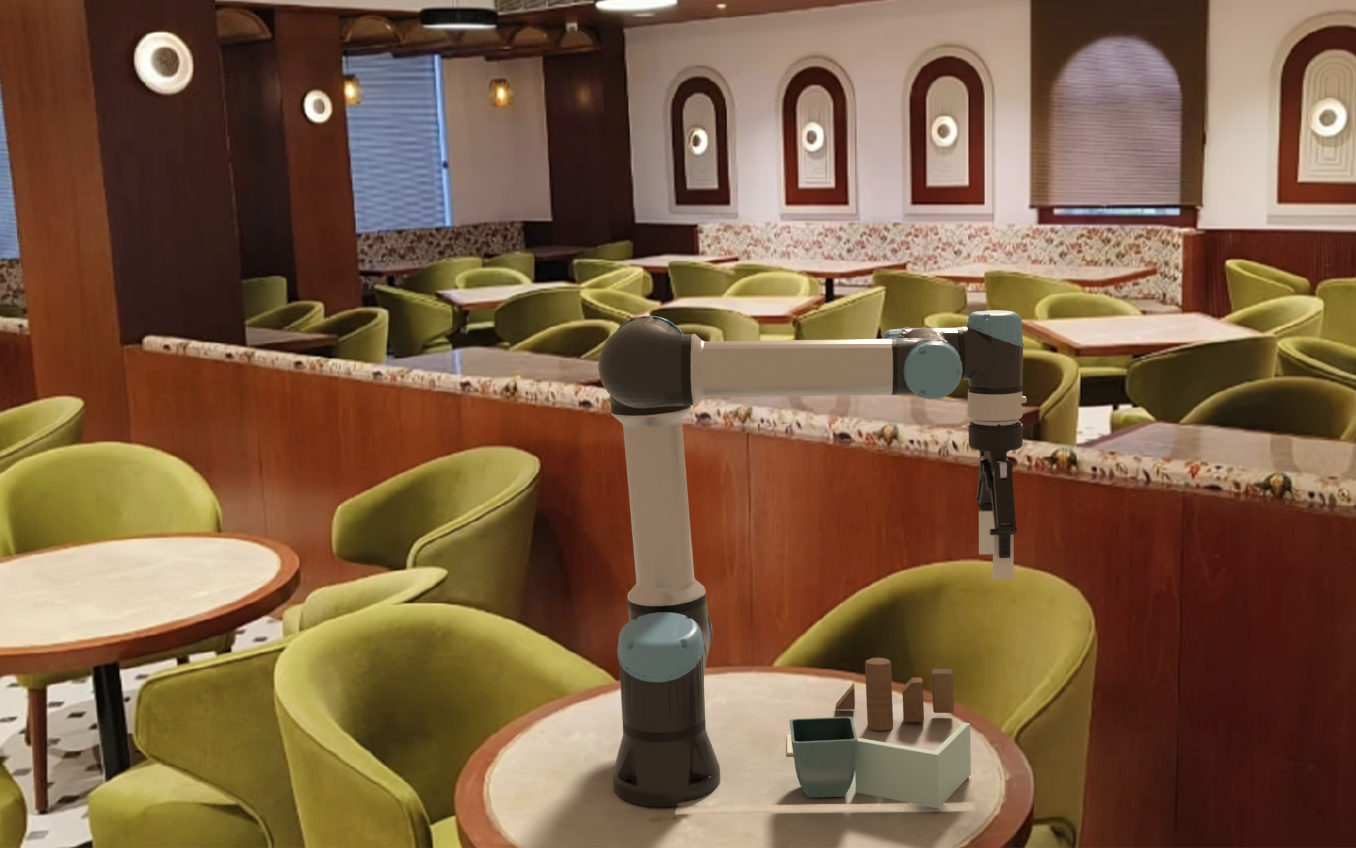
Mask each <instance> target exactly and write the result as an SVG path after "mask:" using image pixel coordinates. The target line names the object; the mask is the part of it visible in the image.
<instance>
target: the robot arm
mask: <svg viewBox="0 0 1356 848" xmlns="http://www.w3.org/2000/svg"><path fill="white" fill-rule="evenodd" d="M1024 345H1025V343H1024V340H1023V322H1022V317H1021V316H1020V314H1018V313H1017V312H1015V311H1011V310H1001V309H1000V310H998V309H997V310H996V309H995V310H991V309H990V310H983V311H982V310H981V311H980V310H979V311H978V310H977V311H973V312H971V313H970V314H968V317H967V322H966V325H962V326H957V327H956V326H955V327H910V326H909V327H908V326H907V327H904V328H896V329H894V328H893V329H888V330H886V331H885V332H884V333H883V336H882V338H870V339H869V338H868V339H867V338H864V339H863V338H861V339H856V338H855V339H851V338H850V339H798V340H797V339H793V340H788V339H785V340H781V339H780V340H723V341H720V340H718V341H717V340H716V341H709V340H707V341H704V340H702V339H701V338H700V337H699V336H698V335H697V334H696V333H684V332H683V331H682V330H681V329H680V328H679V327H678V326H677V325H676V324H675V323H673V322H672V321H671V320H668V319H667V318H663V317H661V316H655V315H643V316H636V317H633V318H631V319H629V320H626V321H624V323H622V324H621V325H620V326H619V327H617V328H616V330H615V331H614V333H612V334H611V335H609V337H608V338H607V339H606V341H605V342H604V344H603V345H602V348H601V350H600V352H599V353H600V354H599V357H598V364H597V367H598V375H599V378H600V381H601V383H602V386H603V388H604V389H605V390H606V392H607V394H608V395H609V401H610V402H609V403H610V411H611V413H610V414H611V415H612V417H614V418H615V419H616V420H618V421H619V422H620V423H621V425H622V428H623V441H624V452H625V463H626V475H627V487H628V488H627V489H628V500H629V510H630V523H631V534H632V547H633V557H634V567H635V568H634V569H635V581H636V583H635V584H634V586H632V588H631V590H630V591H628V593H627V606H628V607H627V608H628V610H627V611H628V619H629V621H628V622H627V623H625V625H624V626H622V628H621V630H620V632H619V634H618V644H617V647H616V648H617V650H616V651H617V659H618V662H619V663H618V664H619V680H620V698H621V716H622V717H621V718H622V737H621V741H620V745H619V748H618V752H617V756H616V759H615V763H614V766H613V771H612V782H613V783H612V785H613V787H612V788H613V790H614V793H616V795H617V796H618V797H619V798H620V799H623V800H625V801H627V802H630V803H632V804H637V805H641V806H648V807H676V806H678V804H682V803H686V802H691V801H695V800H698V799H701V798H704V797H706V796H708V795H710V794H711V793H713V792H714V791H715V790H716V789H717V788H718V786H720V784H721V768H720V764H719V761H718V758H717V755H716V753H715V750H714V747H713V745H712V742H711V740H710V737H709V735H708V732H707V726H706V705H705V704H706V701H705V699H706V698H705V672H706V666H707V661H708V655H709V653H710V650H711V647H712V646H711V645H712V643H713V626H712V622H711V621H710V620H711V619H710V618H711V617H710V616H709V614H708V605H707V604H708V603H707V591H706V588H705V586H704V585H703V584H702V583H701V582H699V581H698V580H696V578H695V571H694V570H695V569H694V558H693V557H694V555H693V545H692V533H691V532H692V531H691V530H692V529H691V519H690V508H689V507H690V506H689V496H688V481H687V468H686V457H685V456H686V455H685V443H684V433H683V431H684V430H683V419H684V417H685V416H686V415H687V414H688V413H689V412H690V410H691V409H692V406H697V405H698V404H699V403H700V402H701V401H703V400H705V398H762V397H766V398H767V397H769V398H772V397H817V396H818V397H821V396H822V397H826V396H827V397H828V396H829V397H830V396H840V397H841V396H882V395H883V396H888V395H889V396H890V395H891V396H918V397H920V398H923V399H927V400H939V399H943V398H945V397H947V396H949V395H950V394H952V393H953V392H954V391H955V390H956V389H957V387H958V386H959V385H960V382H961V381H963V380H965V381H966V380H968V390H967V417H968V418H969V419H970V420H971V421H969V423H968V446H969V447H970V448H971V450H974V451H979V466H978V477H977V478H978V479H977V490H976V497H975V498H976V501H977V503H978V504H977V507H978V509H979V510H978V554H979V555H992V579H993V581H998V580H999V581H1001V580H1003V581H1004V580H1006V581H1009V580H1014V579H1015V578H1014V577H1015V576H1014V574H1015V573H1014V571H1015V570H1014V569H1015V568H1014V562H1015V561H1014V560H1015V559H1014V555H1015V554H1014V553H1015V552H1014V549H1015V547H1014V544H1015V543H1014V541H1015V540H1014V536H1015V535H1014V534H1016V533H1017V531H1018V526H1017V523H1016V508H1015V497H1014V496H1015V495H1014V482H1013V481H1014V480H1013V468H1014V464H1013V462H1011V461H1010V460H1009V459H1008V455H1007V454H1008V452H1010V451H1017V450H1019V449H1021V448H1022V447H1023V444H1024V442H1023V441H1024V432H1023V431H1024V425H1023V423H1022V422H1021V421H1020V419H1021V418H1022V417H1023V405H1022V404H1026V403H1027V401H1028V399H1027V397H1026V396H1024V395H1023V388H1024V387H1023V385H1024V384H1023V382H1024V381H1023V380H1024V378H1023V377H1024V374H1023V373H1024Z"/></svg>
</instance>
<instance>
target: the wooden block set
mask: <svg viewBox="0 0 1356 848" xmlns="http://www.w3.org/2000/svg"><path fill="white" fill-rule="evenodd" d="M864 669H865V670H864V671H865V691H866V692H865V694H866V695H865V696H866V716H867V717H866V718H867V719H866V720H867V723H866V724H867V727H868V729H869V730H871V731H876V732H884V731H885V732H886V731H889V730H891V729H893V727H894V709H893V708H894V706H893V684H892V662H891V660H890V659H887V658H885V657H872V658H869V659H868V658H867V660H865V662H864ZM953 678H954V677H953V670H952V668H933V669H931V689H932V690H931V691H932V711H933V713H934V714H951V713H954V711H955V708H954V707H955V705H954V703H955V702H954V701H955V700H954V679H953ZM923 683H924V682H923V677H910V679H909V680H908V681H907V682H906V683H905V684H904V685H903V686H902V689H901V690H902V712H903V713H902V714H903V715H902V716H903V718H902V719H903V722H904V723H923V722H924V721H925V711H924V708H925V707H924V685H923ZM855 694H856V693H855V682H853V683H852V684H851V685H850V686H849V688H847V690H846V691H845V692H844V694H843V695H842V696H841V697H840V698H839V700H837V702H836V703H835V709H834V710H836V711H841V710H845V711H847V710H849V711H850V710H851V711H854V710H855V708H856V695H855Z"/></svg>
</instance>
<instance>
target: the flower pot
mask: <svg viewBox="0 0 1356 848" xmlns="http://www.w3.org/2000/svg"><path fill="white" fill-rule="evenodd" d="M788 721H789V728H790V734H791V741H792V749H793V755H792V756H793V761H794V768H795V773H796V777H797V780H798V783H799V785H800V788H801V789H802V790H803V793H804V794H805V795H806V797H808V798H809V799H810V798H812V799H813V798H834V797H835V798H836V797H839V798H840V797H845V796H846V794H847V793H848V791H850V788H851V786H852V783H853V780H854V777H855V767H856V753H857V738H858V735H857V732H856V728H855V723H854V718H853V717H852V716H835V717H834V716H832V717H831V716H830V717H813V718H810V717H809V718H808V717H807V718H806V717H805V718H792V719H789V720H788Z"/></svg>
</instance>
